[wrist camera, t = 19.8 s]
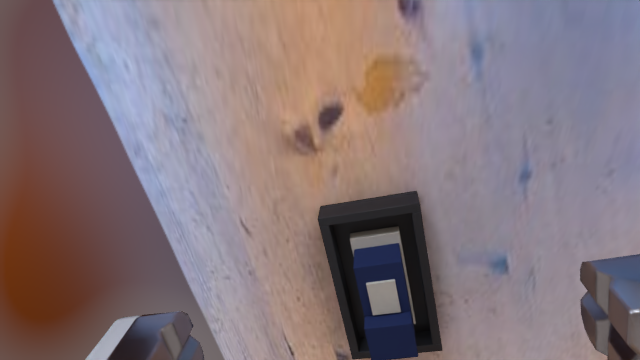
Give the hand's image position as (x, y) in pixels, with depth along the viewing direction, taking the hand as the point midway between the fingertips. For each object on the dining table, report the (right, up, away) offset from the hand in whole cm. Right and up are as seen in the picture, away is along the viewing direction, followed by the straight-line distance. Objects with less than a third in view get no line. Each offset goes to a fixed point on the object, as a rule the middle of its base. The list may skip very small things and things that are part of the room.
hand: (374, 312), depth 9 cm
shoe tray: (+5, -6, +34) cm, 34 cm away
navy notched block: (+5, -6, +33) cm, 34 cm away
